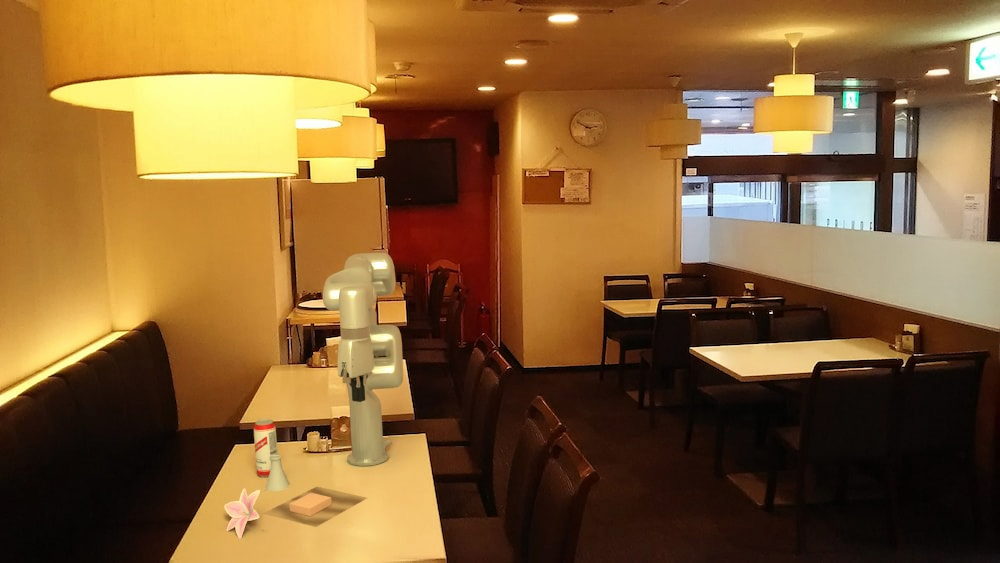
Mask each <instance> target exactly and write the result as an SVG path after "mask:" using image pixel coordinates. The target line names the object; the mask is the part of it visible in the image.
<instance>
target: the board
mask: <svg viewBox="0 0 1000 563" xmlns="http://www.w3.org/2000/svg"><path fill="white" fill-rule="evenodd" d="M310 493H314V494H319V495H323V496H327V497H331V504H332V505H330V506H328V507H326V508H324V509H323V510H321V511H319V512H317V513H315V514H313V515H312V516H308V515H304V514H299V513H295V512H291V511H290V505H289V504H290V503H292V502H294V501H296V500H298V499H300V498H302V497H304V496H306V495H308V494H310ZM367 499H368V497H366V496H361V495H356V494H353V493H347V492H343V491H339V490H335V489H330V488H326V487H321V486H315V487H313V488H311V489H309V490H307V491H305V492H303V493H302V494H301V493H300V494H299V495H297V496H296V497H292V498H291V499H289V500H287V501H285V502H283V503H281V504H279V505H278V506H275V507H273V508H272V509H269V510H268V511H266V512H263V514H264V515H268V516H270V517H276V518H279V519H283V520H287V521H290V522H295V523H297V524H298V523H299V524H302V525H305V526H306V525H307V526H309V527H315V528H317V527H319V526H320V525H322V524H324V523H326V522H328V521H329V520H331V519H333V518H335V517H336V516H338V515H340V514H342V513H343V512H345V511H347V510H350V508H353V507H354V506H356V505H357V504H360V503H362V502H363V501H365V500H367Z"/></svg>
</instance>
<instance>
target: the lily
mask: <svg viewBox="0 0 1000 563" xmlns="http://www.w3.org/2000/svg"><path fill="white" fill-rule="evenodd" d="M241 491H242V492H241V493H240V495H239V496H240V497H239V500H234V501H230V502H229V501H228V502H227V503H225V504H224V510H225V512H226V513H227V514H228V515H229V516H230V517H231V519H230V520H229V523H228V524H227V528H226V531H227V532H229V531H231V530H232V529H234V528H235V534H236V535H237V538H239V539H242V536H243V533H244V531H245V529H246V528H245V527H246V525H247V523H248V521H253V520H254V521H257V520H258V519H259V518H260V514H259V513H258V512H257V510H256V509H255V508H254V506H255V503H256V501H257V499H258V497H259V495H260V492H261V490H260V489H258V490H257V489H256V490H255V491H253V492H252V493H250V494H249V495H248V493H247V489H246V488H245V487H244V488H242V490H241Z"/></svg>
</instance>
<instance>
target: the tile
mask: <svg viewBox="0 0 1000 563" xmlns="http://www.w3.org/2000/svg"><path fill="white" fill-rule="evenodd" d="M289 505H290V511H291V512H295V513H299V514H304V515H308V516H312V515H313V514H315V513H317V512H319V511H321V510H323V509H324V508H326V507H328V506H330V505H332V504H331V497H327V496H323V495H319V494H314V493H310V494H308V495H306V496H304V497H302V498H300V499H298V500H296V501H294V502H292V503H290V504H289Z"/></svg>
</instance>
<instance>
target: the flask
mask: <svg viewBox="0 0 1000 563" xmlns="http://www.w3.org/2000/svg"><path fill="white" fill-rule="evenodd" d="M269 459H270V460H271V469H270V474H269V477H267V482H266V485H265V489H264V491H265V492H266V491H269V492H280V491H285V490H286V489H288V488H289V486H290V484H291V483H290V481H289V480H288V478H287V475H286V474H285V471H284V469H283V465H282V462H281V459H282V455H281V454H278V455H272V456H270V458H269Z"/></svg>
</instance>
